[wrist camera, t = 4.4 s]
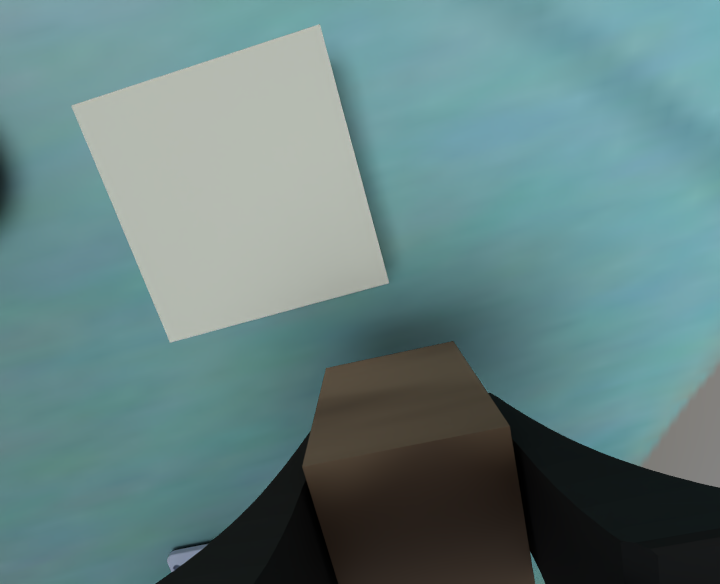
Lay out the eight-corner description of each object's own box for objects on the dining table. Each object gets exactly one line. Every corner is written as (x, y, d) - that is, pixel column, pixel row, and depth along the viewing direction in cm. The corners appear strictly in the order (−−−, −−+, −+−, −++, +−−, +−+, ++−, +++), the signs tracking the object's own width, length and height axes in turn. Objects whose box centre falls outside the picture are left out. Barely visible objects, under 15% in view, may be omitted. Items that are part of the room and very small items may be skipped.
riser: (384, 268, 19) (389, 283, 15) (207, 316, 20) (170, 342, 16) (329, 66, 17) (319, 24, 13) (135, 128, 18) (71, 105, 14)
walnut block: (474, 453, 13) (536, 592, 9) (355, 476, 14) (350, 623, 9) (453, 341, 12) (509, 426, 8) (326, 367, 13) (302, 466, 8)
